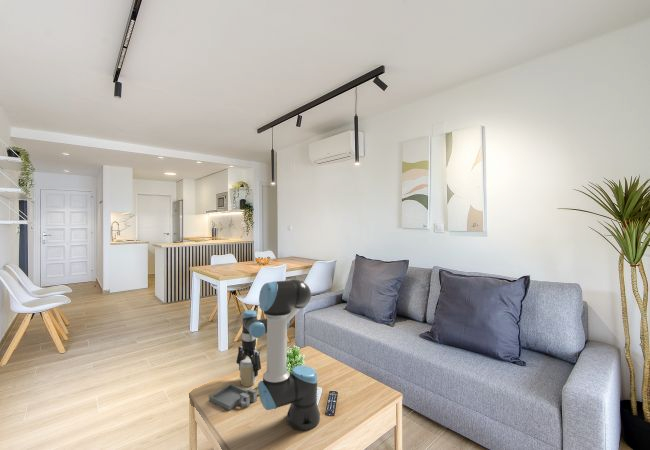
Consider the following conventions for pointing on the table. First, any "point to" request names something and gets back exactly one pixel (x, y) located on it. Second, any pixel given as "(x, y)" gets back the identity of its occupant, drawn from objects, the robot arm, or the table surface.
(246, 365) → the coffee cup
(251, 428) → the table surface
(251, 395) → the lock pin
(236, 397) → the dock tray
